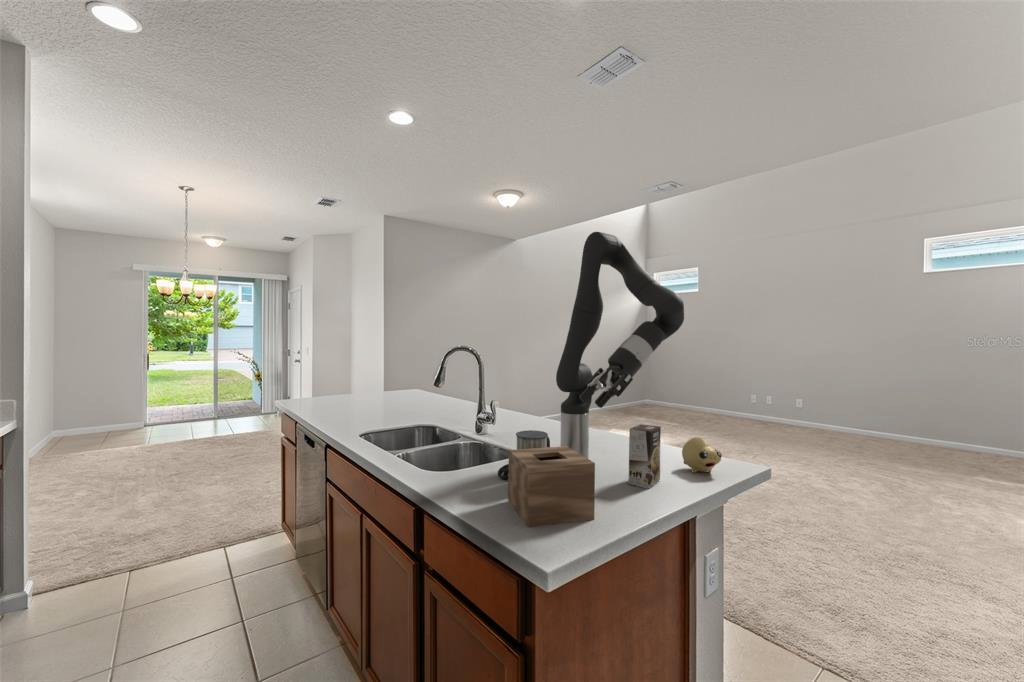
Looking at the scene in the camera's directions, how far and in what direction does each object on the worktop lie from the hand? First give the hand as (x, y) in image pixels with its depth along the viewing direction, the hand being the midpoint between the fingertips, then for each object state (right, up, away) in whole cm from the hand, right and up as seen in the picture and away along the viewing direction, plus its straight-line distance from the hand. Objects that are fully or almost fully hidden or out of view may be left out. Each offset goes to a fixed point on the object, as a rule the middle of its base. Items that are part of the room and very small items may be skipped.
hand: (589, 402), depth 108 cm
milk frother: (-17, -26, +17) cm, 35 cm away
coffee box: (+19, -26, +17) cm, 37 cm away
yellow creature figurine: (+40, -26, +28) cm, 55 cm away
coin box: (-10, -26, -3) cm, 28 cm away
